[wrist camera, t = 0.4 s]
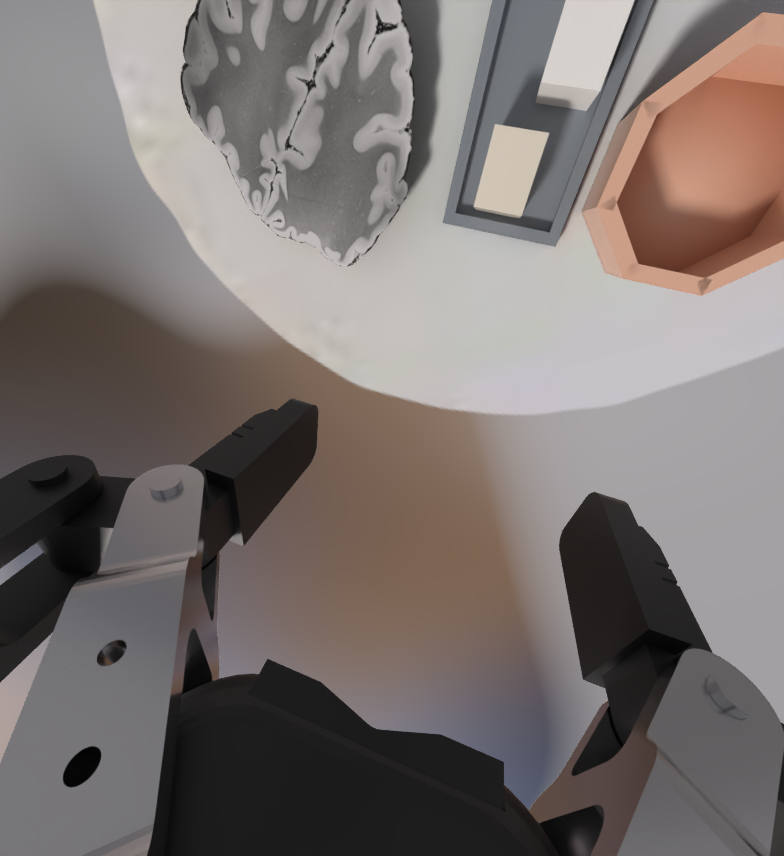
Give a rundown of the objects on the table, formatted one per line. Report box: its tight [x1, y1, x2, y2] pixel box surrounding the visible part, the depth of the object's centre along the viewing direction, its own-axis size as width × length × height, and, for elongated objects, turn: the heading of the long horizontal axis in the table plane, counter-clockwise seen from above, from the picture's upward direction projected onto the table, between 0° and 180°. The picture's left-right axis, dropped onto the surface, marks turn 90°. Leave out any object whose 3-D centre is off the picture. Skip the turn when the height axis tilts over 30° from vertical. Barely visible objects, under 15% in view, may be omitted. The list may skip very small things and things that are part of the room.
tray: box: [443, 0, 654, 247], centre depth 22 cm, size 14×9×1 cm, turn 170°
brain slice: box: [181, 0, 415, 267], centre depth 25 cm, size 20×17×3 cm
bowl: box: [581, 12, 784, 296], centre depth 20 cm, size 12×12×5 cm
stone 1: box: [474, 124, 549, 219], centre depth 23 cm, size 4×3×4 cm
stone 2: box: [535, 0, 635, 111], centre depth 19 cm, size 4×3×4 cm
